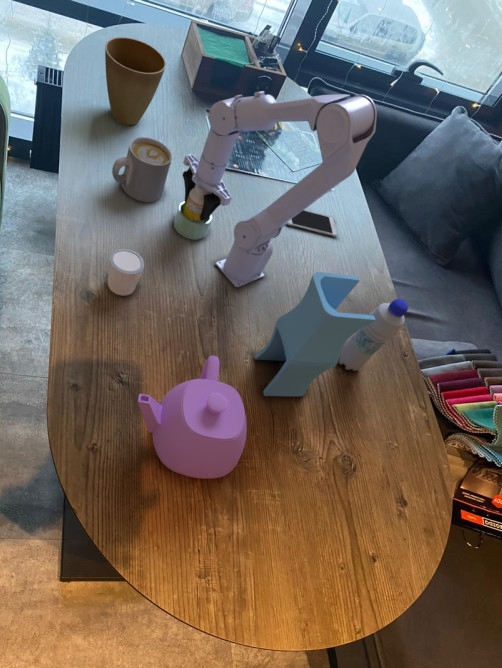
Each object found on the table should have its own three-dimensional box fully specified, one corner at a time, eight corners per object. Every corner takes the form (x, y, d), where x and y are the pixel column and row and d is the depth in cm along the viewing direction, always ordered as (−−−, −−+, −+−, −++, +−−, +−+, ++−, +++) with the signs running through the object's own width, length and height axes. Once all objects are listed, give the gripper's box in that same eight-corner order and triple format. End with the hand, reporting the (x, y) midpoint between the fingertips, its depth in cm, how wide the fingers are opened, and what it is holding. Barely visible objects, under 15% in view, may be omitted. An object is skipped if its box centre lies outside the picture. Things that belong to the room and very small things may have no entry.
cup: (192, 212, 124) (198, 197, 120) (213, 234, 122) (219, 220, 118) (166, 219, 120) (171, 204, 116) (187, 243, 118) (192, 228, 114)
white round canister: (132, 302, 103) (139, 278, 98) (100, 290, 102) (105, 265, 97) (141, 280, 107) (148, 255, 101) (110, 268, 106) (115, 243, 100)
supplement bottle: (193, 231, 117) (206, 197, 109) (176, 217, 118) (188, 182, 110) (207, 223, 120) (221, 189, 112) (191, 209, 121) (203, 174, 113)
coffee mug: (156, 176, 127) (166, 139, 119) (166, 203, 123) (176, 167, 115) (104, 171, 122) (110, 132, 114) (112, 200, 117) (119, 161, 109)
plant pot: (96, 94, 137) (105, 30, 124) (150, 108, 142) (163, 47, 129) (96, 127, 130) (105, 62, 117) (153, 140, 134) (168, 78, 122)
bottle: (362, 357, 116) (418, 299, 99) (358, 379, 112) (416, 322, 96) (336, 345, 115) (388, 284, 99) (331, 365, 111) (385, 306, 95)
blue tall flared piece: (306, 396, 104) (376, 320, 84) (264, 395, 101) (326, 316, 81) (295, 357, 109) (358, 276, 89) (253, 355, 106) (310, 270, 86)
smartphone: (284, 204, 136) (333, 217, 140) (283, 206, 137) (332, 219, 141) (287, 223, 132) (337, 235, 136) (286, 225, 133) (336, 237, 137)
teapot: (131, 378, 94) (149, 328, 82) (233, 398, 98) (263, 353, 86) (119, 476, 83) (136, 435, 71) (233, 493, 88) (268, 457, 76)
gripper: (179, 138, 105) (164, 193, 116) (222, 183, 102) (202, 235, 113) (204, 134, 109) (187, 187, 120) (246, 177, 105) (225, 228, 116)
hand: (196, 210), depth 117 cm, fingers closed on supplement bottle, 5 cm apart
